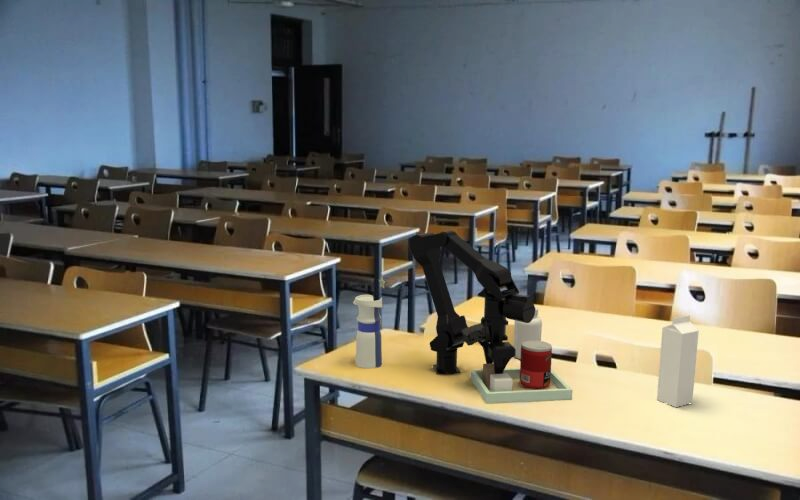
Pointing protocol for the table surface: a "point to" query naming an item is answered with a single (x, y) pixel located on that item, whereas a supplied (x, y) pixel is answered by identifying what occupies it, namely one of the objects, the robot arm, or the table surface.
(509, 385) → the white block
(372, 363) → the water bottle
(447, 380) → the table surface
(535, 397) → the mint green rectangular frame
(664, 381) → the milk
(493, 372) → the brown carton
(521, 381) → the canned food
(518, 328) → the pill bottle
